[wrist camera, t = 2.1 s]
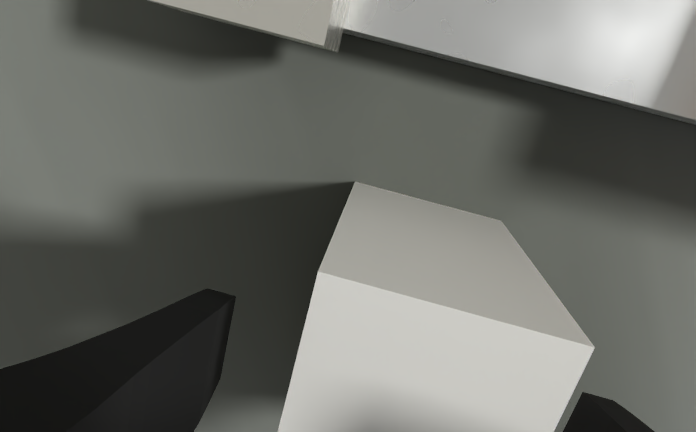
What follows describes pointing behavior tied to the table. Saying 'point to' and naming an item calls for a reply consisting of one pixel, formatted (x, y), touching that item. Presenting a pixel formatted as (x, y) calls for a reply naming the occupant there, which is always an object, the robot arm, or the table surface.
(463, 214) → the block
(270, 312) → the table surface
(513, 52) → the mounting rail
